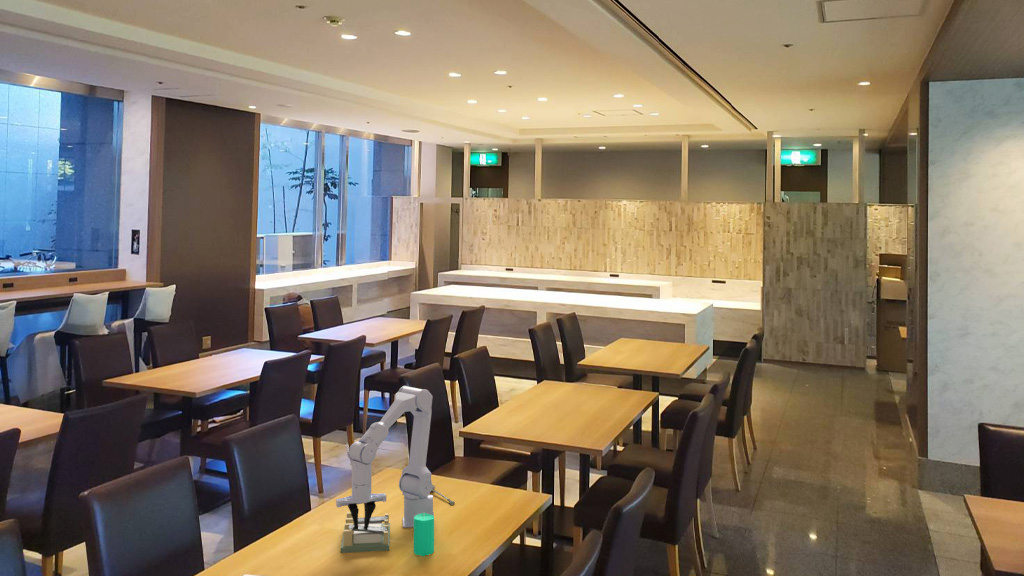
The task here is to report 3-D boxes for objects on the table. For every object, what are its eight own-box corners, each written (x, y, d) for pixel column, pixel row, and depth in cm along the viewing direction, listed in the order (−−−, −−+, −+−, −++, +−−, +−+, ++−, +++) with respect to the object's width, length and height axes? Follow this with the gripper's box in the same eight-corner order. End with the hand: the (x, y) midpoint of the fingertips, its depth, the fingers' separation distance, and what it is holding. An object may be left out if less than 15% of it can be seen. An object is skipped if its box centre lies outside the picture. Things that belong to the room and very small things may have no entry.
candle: (425, 557, 216) (425, 517, 215) (409, 552, 219) (409, 512, 219) (438, 550, 221) (438, 510, 220) (422, 545, 225) (422, 506, 224)
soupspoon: (428, 488, 278) (412, 492, 274) (428, 479, 277) (412, 483, 274) (460, 503, 260) (444, 508, 256) (460, 494, 260) (443, 498, 256)
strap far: (388, 518, 235) (387, 515, 235) (387, 521, 232) (387, 519, 232) (350, 520, 233) (350, 518, 233) (350, 524, 230) (350, 521, 230)
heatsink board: (390, 527, 238) (390, 509, 237) (389, 550, 221) (389, 530, 220) (344, 529, 236) (344, 511, 235) (340, 552, 219) (340, 532, 218)
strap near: (387, 529, 226) (387, 527, 226) (387, 533, 223) (387, 531, 223) (349, 526, 224) (349, 524, 224) (348, 530, 221) (348, 528, 221)
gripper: (382, 475, 229) (382, 519, 230) (334, 481, 223) (334, 525, 224) (388, 482, 222) (387, 527, 223) (338, 488, 216) (338, 534, 217)
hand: (361, 527), depth 223 cm, fingers closed on strap near, 2 cm apart
